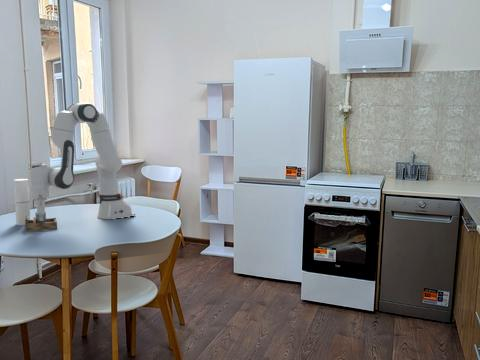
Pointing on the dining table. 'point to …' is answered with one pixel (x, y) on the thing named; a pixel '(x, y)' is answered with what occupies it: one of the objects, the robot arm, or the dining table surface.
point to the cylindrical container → (21, 200)
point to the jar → (38, 218)
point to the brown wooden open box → (40, 225)
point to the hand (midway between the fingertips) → (41, 219)
